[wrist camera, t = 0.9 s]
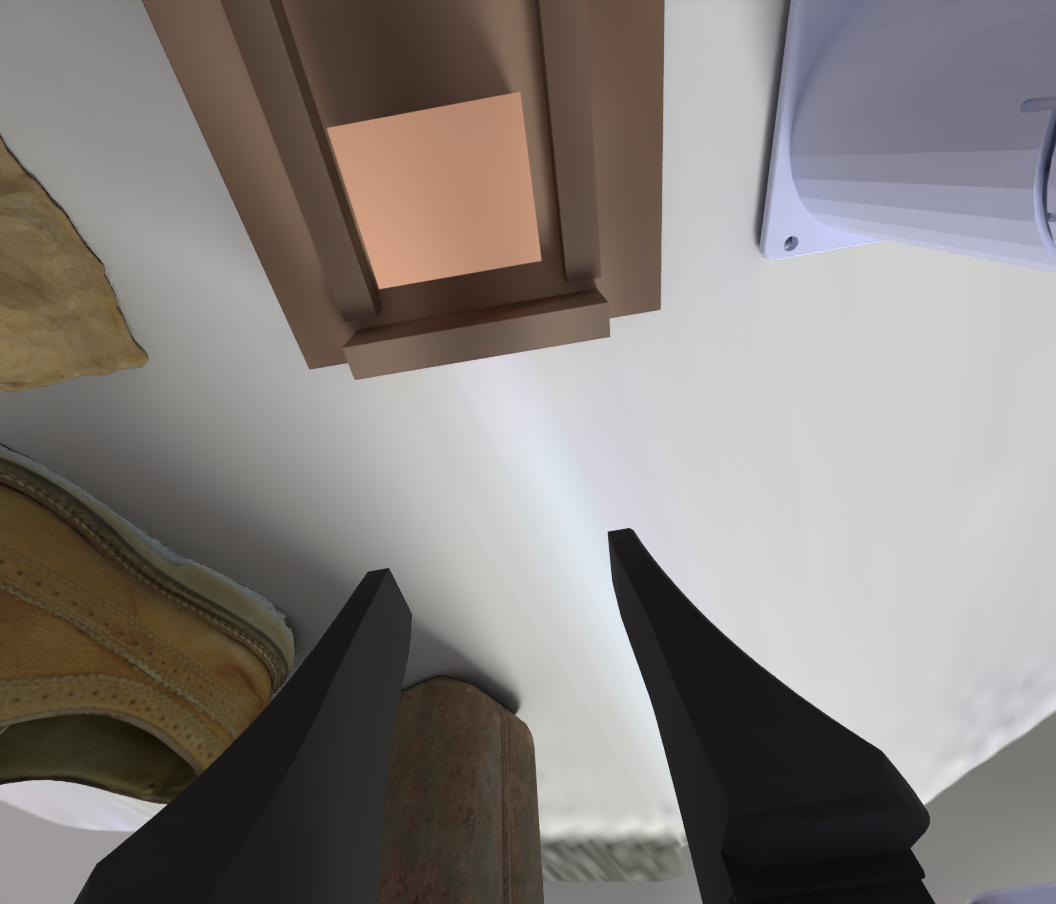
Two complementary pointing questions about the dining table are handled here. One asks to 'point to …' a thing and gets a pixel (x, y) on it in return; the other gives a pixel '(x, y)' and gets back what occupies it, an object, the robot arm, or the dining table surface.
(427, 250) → the slider knob
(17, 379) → the rock
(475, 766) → the container
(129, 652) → the oxford shoe
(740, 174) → the dining table surface
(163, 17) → the slider track
